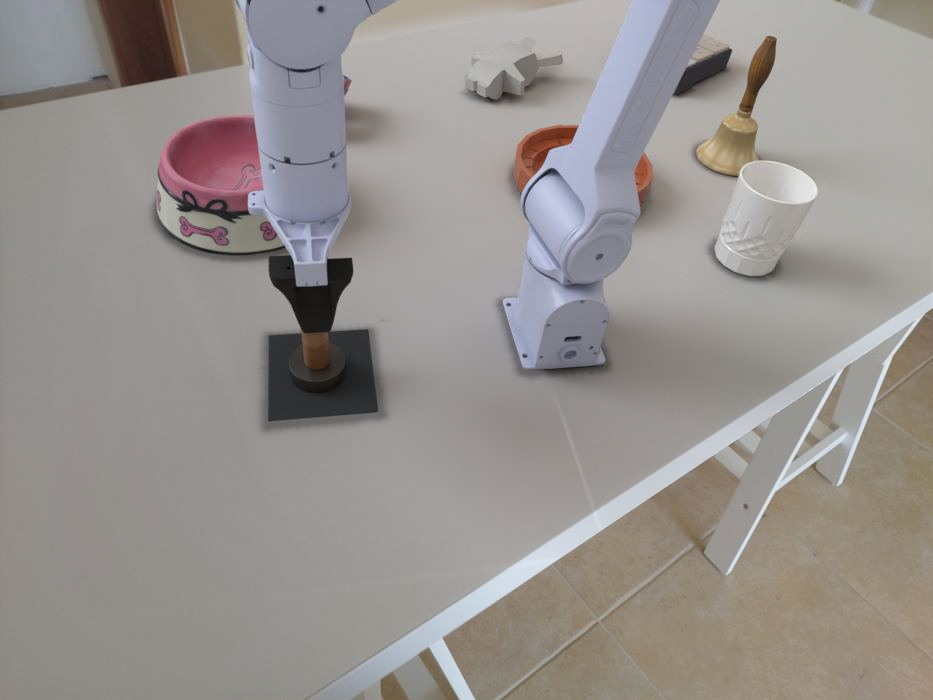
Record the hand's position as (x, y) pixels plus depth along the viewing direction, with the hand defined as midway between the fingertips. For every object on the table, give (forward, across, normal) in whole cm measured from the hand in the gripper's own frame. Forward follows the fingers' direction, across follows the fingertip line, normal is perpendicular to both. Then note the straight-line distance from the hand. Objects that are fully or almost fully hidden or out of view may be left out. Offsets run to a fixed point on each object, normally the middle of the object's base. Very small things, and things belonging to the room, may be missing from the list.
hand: (314, 295), depth 58 cm
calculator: (+7, -59, +56) cm, 82 cm away
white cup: (+10, -13, +47) cm, 50 cm away
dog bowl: (+10, -26, -7) cm, 29 cm away
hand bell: (+10, -33, +54) cm, 64 cm away
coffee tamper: (+9, 0, 0) cm, 9 cm away
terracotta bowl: (+9, -28, +32) cm, 44 cm away
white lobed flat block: (+10, -54, +29) cm, 62 cm away
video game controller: (+10, -44, +2) cm, 45 cm away
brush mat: (+9, 0, 0) cm, 9 cm away
